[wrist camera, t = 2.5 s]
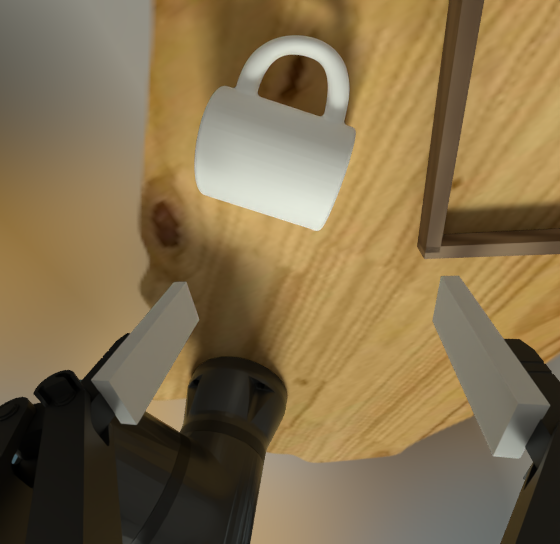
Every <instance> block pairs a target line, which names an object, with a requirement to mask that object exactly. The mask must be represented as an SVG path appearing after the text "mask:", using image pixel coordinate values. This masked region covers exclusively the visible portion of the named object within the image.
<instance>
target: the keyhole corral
mask: <svg viewBox="0 0 560 544" xmlns="http://www.w3.org/2000/svg"><path fill="white" fill-rule="evenodd" d="M483 4H484V0H449V8H448V15H447V23H446V31H445V38H444V46H443V54H442V61H441V69H440V77H439V84H438V92H437V100H436V107H435V115H434V122H433V130H432V138H431V145H430V153H429V161H428V168H427V176H426V184H425V191H424V199H423V207H422V214H421V222H420V230H419V237H418V245H417V247H418V249H419V251H420V252H421V254H422V256H423V257H424V259H435V258H463V257H490V256H518V255H546V254H560V229H540V230H520V231H501V232H481V233H461V234H443V231H444V225H445V219H446V214H447V208H448V202H449V197H450V191H451V185H452V179H453V174H454V168H455V162H456V157H457V151H458V145H459V140H460V134H461V128H462V123H463V117H464V111H465V106H466V100H467V94H468V89H469V83H470V77H471V72H472V66H473V60H474V55H475V49H476V43H477V38H478V32H479V26H480V21H481V15H482V9H483Z"/></svg>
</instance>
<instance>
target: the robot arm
mask: <svg viewBox="0 0 560 544" xmlns="http://www.w3.org/2000/svg"><path fill="white" fill-rule="evenodd" d="M198 321H199V317H198V314H197V311H196V308H195V305H194V302H193V300H192V297H191V294H190V291H189V288H188V285H187V282H174V283H173V284H172V285H171V286H170V287H169V288H168V290H167V291H166V292H165V293H164V294H163V296H162V297H161V298H160V299H159V300H158V301H157V303H156V304H155V305H154V306H153V307H152V309H151V310H150V311H149V312H148V313H147V314H146V316H145V317H144V318H143V319H142V320H141V322H140V323H139V324H138V325H137V326H136V327H135V329H134V330H133V331H132V332H131V333H127V334H125V335H124V336H123V337H121V338H120V339H119V340H117V341H116V342H115V343H114V344H113V346H112V347H111V348H110V349H109V351H107V352H106V353H105V355H104V356H103V358H101V359H100V361H98V363H97V364H96V365H95V366H94V367H93V368H92V370H91V371H90V372H89V373H88V374H87V375H86V376H85V377H84V379H83V380H79V379H78V378H77V376H76V375H75V373H74V372H73V371H70V370H64V371H60V372H57V373H55V374H53V375H51V376H49V377H48V378H47V379H45V380H44V381H42V382H41V383H40V384H39V385H38V386H37V388H36V389H35V391H34V395H35V396H36V397H37V398H38V399H39V400H40V402H41V403H37V404H32V403H31V402H30V401H29V400H28V399H27V398H25V397H19V398H15V399H12V400H10V401H8V402H6V403H5V404H3V405H1V406H0V544H250V541H251V535H252V529H253V524H254V517H255V512H256V505H257V500H258V494H259V488H260V483H261V477H262V471H263V465H264V460H265V454H266V450H267V448H268V446H269V444H270V442H271V440H272V438H273V436H274V434H275V432H276V430H277V428H278V426H279V424H280V422H281V421H282V419H283V416H284V414H285V410H286V403H287V392H286V389H285V386H284V384H283V383H282V381H281V380H280V379H279V378H278V377H277V376H276V375H275V374H274V373H273V372H272V371H270V370H269V369H267V368H266V367H264V366H262V365H260V364H258V363H256V362H253V361H250V360H247V359H243V358H238V357H217V358H213V359H209V360H207V361H205V362H203V363H202V364H200V365H199V366H198V367H197V368H196V370H195V372H194V374H193V376H192V378H191V380H190V382H189V385H188V390H187V398H186V406H185V414H184V422H183V426H182V429H181V431H180V432H178V431H176V430H175V429H174V428H172V427H170V426H169V425H167V424H165V423H164V422H162V421H161V420H159V419H157V418H156V417H154V416H152V415H151V414H149V413H147V412H146V409H147V407H148V406H149V404H150V402H151V400H152V399H153V397H154V395H155V394H156V392H157V390H158V389H159V387H160V385H161V384H162V382H163V380H164V379H165V377H166V375H167V373H168V372H169V370H170V368H171V367H172V365H173V363H174V362H175V360H176V358H177V357H178V355H179V353H180V352H181V350H182V348H183V346H184V345H185V343H186V341H187V340H188V338H189V336H190V335H191V333H192V331H193V330H194V328H195V326H196V324H197V323H198ZM433 323H434V325H435V328H436V330H437V332H438V334H439V337H440V339H441V341H442V343H443V346H444V348H445V350H446V352H447V355H448V357H449V359H450V361H451V363H452V366H453V368H454V370H455V372H456V375H457V377H458V379H459V381H460V384H461V386H462V388H463V390H464V393H465V395H466V397H467V399H468V401H469V404H470V406H471V408H472V410H473V413H474V415H475V417H476V419H477V421H478V424H479V425H480V428H481V430H482V433H483V435H484V437H485V439H486V442H487V444H488V446H489V448H490V451H491V453H492V455H493V456H498V457H509V458H520V457H521V456H522V454H523V452H524V450H525V449H526V450H527V451H528V453H529V455H530V457H531V459H532V461H533V463H532V465H531V466H530V468H529V469H528V471H527V473H526V474H525V476H524V477H523V479H525V482H524V484H523V487H522V489H521V492H520V494H519V497H518V499H517V502H516V505H515V507H514V510H513V512H512V515H511V517H510V520H509V523H508V525H507V528H506V530H505V533H504V536H503V538H502V541H501V543H500V544H560V382H559V380H558V379H557V378H556V377H555V375H554V374H552V373H551V370H550V369H549V368H548V366H547V365H546V364H544V361H543V360H542V359H541V358H540V356H539V355H538V354H537V353H536V351H535V350H534V349H533V348H531V347H530V346H528V345H527V344H526V343H524V342H523V341H521V340H520V339H503V337H502V336H501V335H500V333H499V332H498V330H497V329H496V328H495V326H494V325H493V323H492V322H491V320H490V319H489V318H488V316H487V315H486V313H485V312H484V311H483V309H482V308H481V306H480V305H479V303H478V302H477V301H476V299H475V298H474V296H473V295H472V294H471V292H470V291H469V289H468V288H467V287H466V285H465V284H464V282H463V281H462V279H461V278H460V277H459V276H441V279H440V284H439V289H438V294H437V300H436V305H435V310H434V316H433Z"/></svg>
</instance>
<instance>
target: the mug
mask: <svg viewBox="0 0 560 544" xmlns="http://www.w3.org/2000/svg"><path fill="white" fill-rule="evenodd" d="M285 55H302V56H306V57H310V58H312V59H315V60H316V61H318V62H319V63H320V64H321V65H322V66H323V68H324V69H325V72H326V75H327V81H328V93H327V102H326V107H325V112H324V114H323V115H322V116H317V115H314V114H311V113H308V112H305V111H302V110H299V109H296V108H293V107H290V106H287V105H284V104H281V103H277V102H274V101H271V100H268V99H265V98H262V97H260V96H259V95H258V89H259V86H260V83H261V81H262V78H263V76H264V74H265V72H266V71H267V69H268V68H269V66H270V65H271V64H272V63H273V62H274V61H275V60H276V59H278V58H280V57H282V56H285ZM348 101H349V76H348V72H347V68H346V66H345V63H344V61H343V60H342V58H341V56H340V55H339V54H338V53H337V51H336V50H335V49H333V48H332V47H331V46H330V45H328V44H327V43H325V42H323V41H321V40H319V39H316V38H313V37H308V36H301V35H290V36H283V37H279V38H276V39H273V40H270V41H268V42H266V43H265V44H263V45H262V46H260V47H259V48H258V49H257V50H255V51H254V52H253V54H252V55H251V56H250V57H249V59H248V60H247V61H246V63H245V65H244V67H243V69H242V71H241V74H240V76H239V79H238V82H237V86H236V87H235V88H232V87H229V86H221V87H219V88H218V89H217V90H216V91H215V92H214V93H213V95H212V96H211V98H210V100H209V102H208V104H207V106H206V108H205V111H204V114H203V117H202V120H201V123H200V127H199V132H198V137H197V142H196V150H195V179H196V183H197V186H198V189H199V191H200V192H201V193H202V194H204V195H206V196H209V197H212V198H216V199H219V200H222V201H225V202H228V203H231V204H234V205H237V206H241V207H244V208H247V209H250V210H253V211H256V212H259V213H262V214H266V215H269V216H272V217H275V218H278V219H281V220H284V221H287V222H291V223H294V224H297V225H300V226H303V227H306V228H309V229H312V230H316V231H319V230H320V229H321V228H322V227H323V226H324V224H325V222H326V220H327V218H328V216H329V214H330V212H331V210H332V207H333V205H334V203H335V200H336V198H337V195H338V192H339V190H340V187H341V184H342V182H343V179H344V176H345V173H346V170H347V167H348V164H349V160H350V157H351V154H352V150H353V146H354V141H355V135H356V131H355V129H354V128H353V127H351V126H348V125H346V124H345V123H344V120H345V116H346V112H347V107H348Z"/></svg>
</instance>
